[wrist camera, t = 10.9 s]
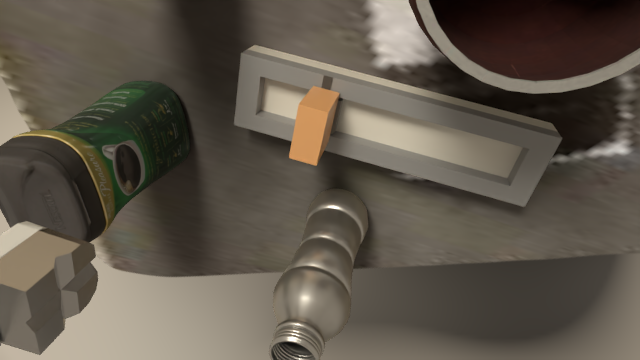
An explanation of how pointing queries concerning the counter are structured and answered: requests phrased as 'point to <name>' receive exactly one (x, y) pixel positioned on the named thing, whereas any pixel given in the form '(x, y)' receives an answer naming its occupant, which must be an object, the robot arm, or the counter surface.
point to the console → (400, 125)
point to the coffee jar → (93, 160)
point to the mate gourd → (535, 40)
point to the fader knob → (315, 124)
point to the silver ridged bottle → (319, 277)
